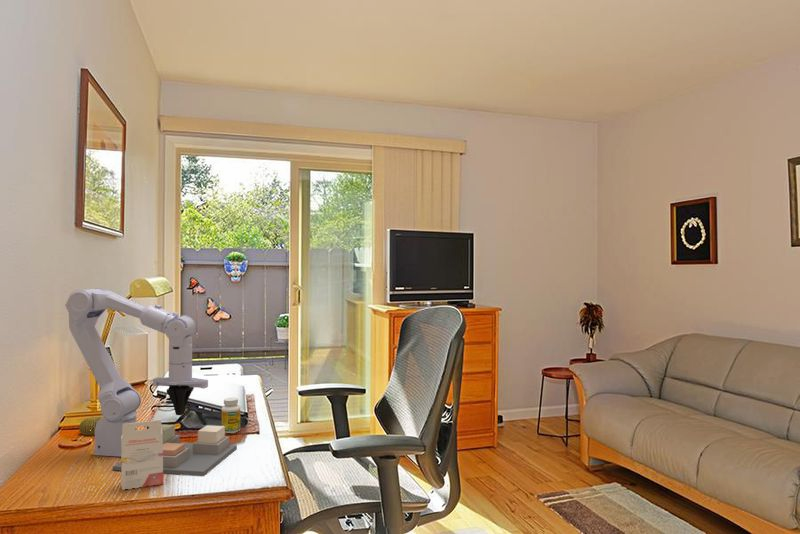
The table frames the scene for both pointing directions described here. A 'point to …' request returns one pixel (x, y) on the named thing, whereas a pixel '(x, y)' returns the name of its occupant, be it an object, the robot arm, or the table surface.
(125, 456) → the ink cartridge box
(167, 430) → the sage button
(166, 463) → the board
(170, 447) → the terracotta button
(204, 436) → the cream button
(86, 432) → the sculpture
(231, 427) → the supplement bottle
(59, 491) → the table surface
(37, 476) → the table surface
